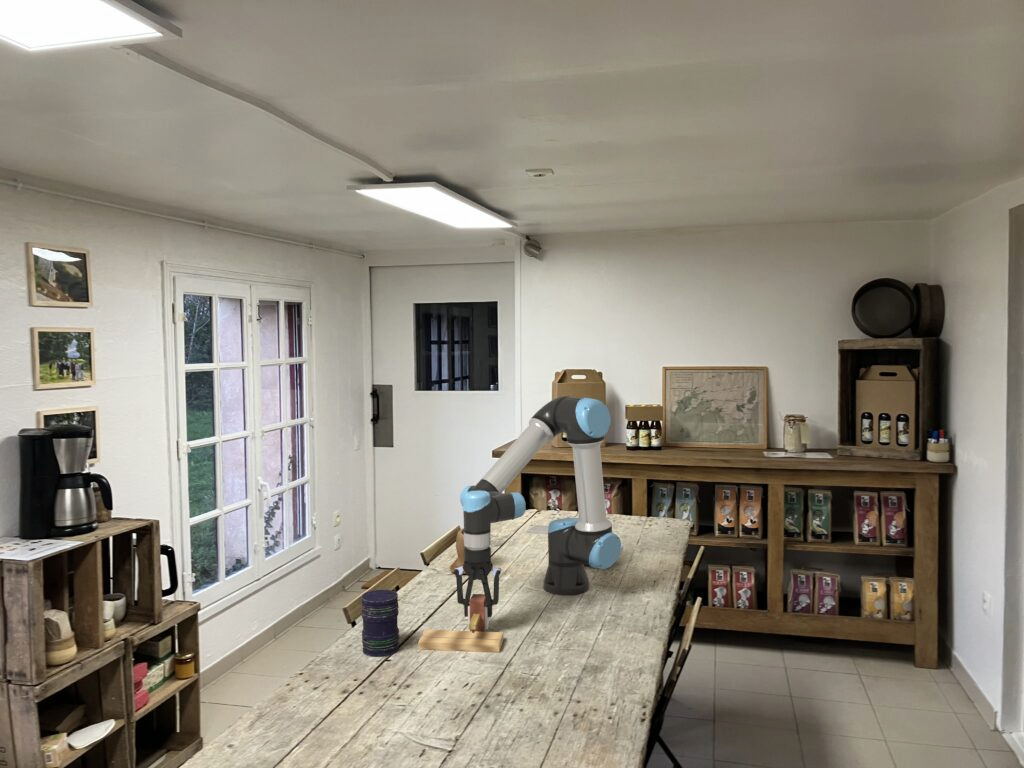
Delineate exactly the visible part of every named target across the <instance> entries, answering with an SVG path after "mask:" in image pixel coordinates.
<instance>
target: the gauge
mask: <svg viewBox="0 0 1024 768" xmlns="http://www.w3.org/2000/svg"><path fill="white" fill-rule="evenodd" d="M469 603H470V623H469V629H468V630H469V631H472V633H475V631H477V632H486V630H485V605H486V604H487V603H486V598H485V594H483V593H473V594H471V596H470V601H469Z"/></svg>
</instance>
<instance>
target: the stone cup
mask: <svg viewBox="0 0 1024 768" xmlns="http://www.w3.org/2000/svg"><path fill="white" fill-rule="evenodd" d="M464 548H465V546H464V527H463V528H461V529H460V530H458V532H457V533H456V538H455V550H456V554H457V558H456V559H455V560H454V561H453V562H452V563H451V565H450V566H449V569H448V570H449V572H451V573H454V570H455V568H456V567H462V566H463V564H464ZM463 574H466V573H465V571H464V570H463ZM463 574H462V575H463ZM466 575H467V574H466Z"/></svg>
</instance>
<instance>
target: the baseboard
mask: <svg viewBox="0 0 1024 768" xmlns="http://www.w3.org/2000/svg"><path fill="white" fill-rule="evenodd" d="M548 526H549V525H541V524H540V525H539V524H531V525H530V527H529V528H528V531H527V534H535V535H536V534H537V535H538V534H539V535H548Z"/></svg>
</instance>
